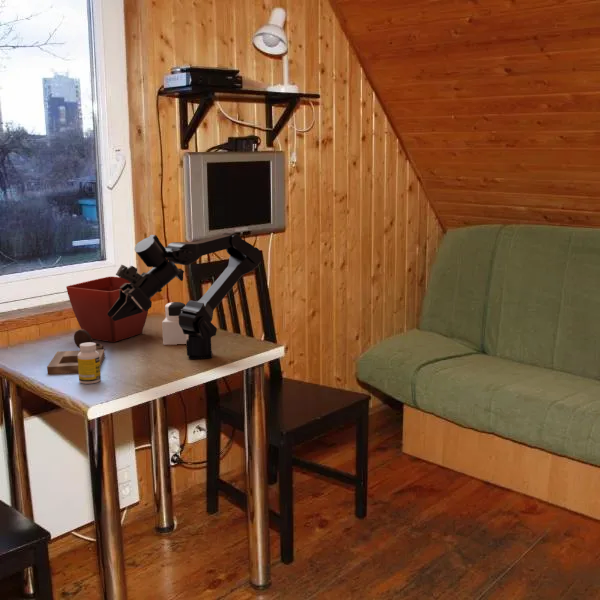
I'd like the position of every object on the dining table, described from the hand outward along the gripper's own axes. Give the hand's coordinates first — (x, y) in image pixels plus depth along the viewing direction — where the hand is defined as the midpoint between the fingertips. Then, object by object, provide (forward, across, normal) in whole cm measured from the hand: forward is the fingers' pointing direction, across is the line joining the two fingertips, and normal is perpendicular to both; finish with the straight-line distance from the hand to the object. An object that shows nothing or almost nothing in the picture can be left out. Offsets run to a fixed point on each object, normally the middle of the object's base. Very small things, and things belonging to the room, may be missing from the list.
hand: (110, 317), depth 201 cm
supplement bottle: (+15, +3, +9) cm, 17 cm away
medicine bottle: (-10, -25, +23) cm, 36 cm away
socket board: (+15, -13, +6) cm, 21 cm away
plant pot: (+2, -41, +12) cm, 43 cm away
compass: (+11, -27, +8) cm, 30 cm away
